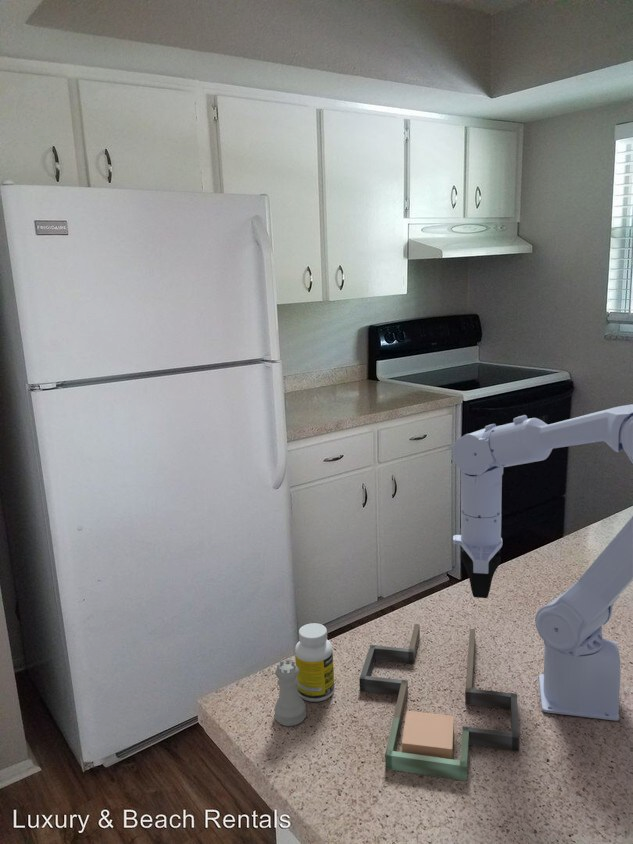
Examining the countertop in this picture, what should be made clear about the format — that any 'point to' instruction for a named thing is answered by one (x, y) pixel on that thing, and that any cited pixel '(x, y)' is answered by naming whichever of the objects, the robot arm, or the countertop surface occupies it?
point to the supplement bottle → (314, 663)
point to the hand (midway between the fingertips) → (480, 595)
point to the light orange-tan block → (428, 734)
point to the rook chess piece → (289, 696)
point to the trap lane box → (469, 734)
